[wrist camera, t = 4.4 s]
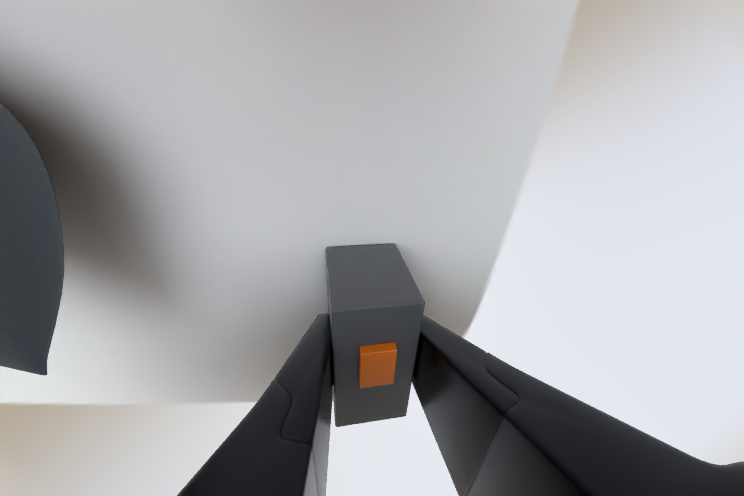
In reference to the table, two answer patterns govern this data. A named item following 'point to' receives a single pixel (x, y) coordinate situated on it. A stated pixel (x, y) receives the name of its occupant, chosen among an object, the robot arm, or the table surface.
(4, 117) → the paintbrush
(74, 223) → the table surface
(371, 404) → the grey block orange patch
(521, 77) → the table surface
